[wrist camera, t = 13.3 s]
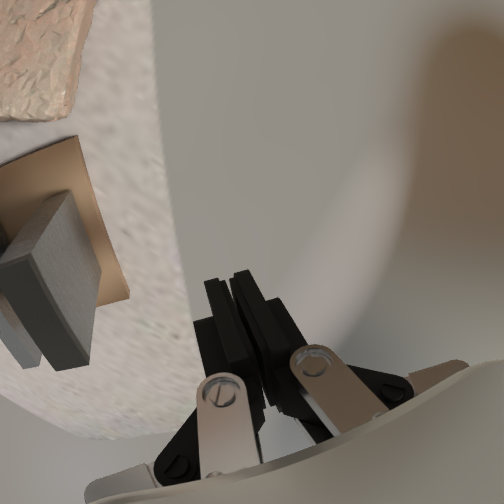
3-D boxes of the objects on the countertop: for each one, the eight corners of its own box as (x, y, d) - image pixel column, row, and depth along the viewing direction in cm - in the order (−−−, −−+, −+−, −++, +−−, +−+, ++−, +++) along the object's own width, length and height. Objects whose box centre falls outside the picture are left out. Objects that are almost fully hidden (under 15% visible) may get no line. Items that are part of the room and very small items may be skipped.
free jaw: (-32, 184, 14) (-103, 245, 7) (58, 143, 15) (-2, 187, 8) (35, 324, 20) (14, 413, 13) (117, 304, 22) (114, 399, 14)
